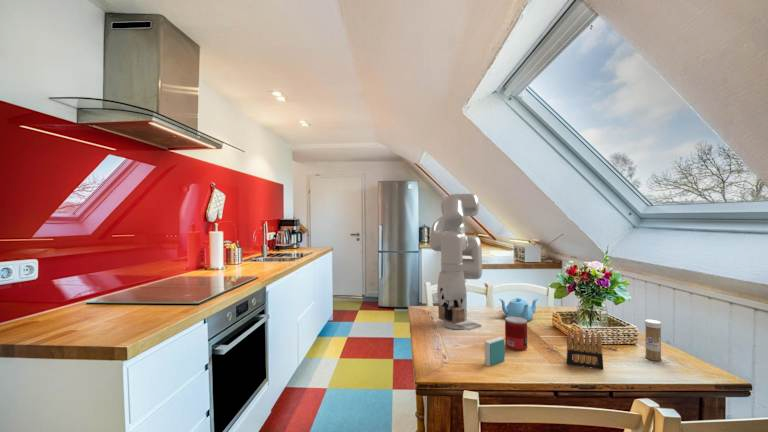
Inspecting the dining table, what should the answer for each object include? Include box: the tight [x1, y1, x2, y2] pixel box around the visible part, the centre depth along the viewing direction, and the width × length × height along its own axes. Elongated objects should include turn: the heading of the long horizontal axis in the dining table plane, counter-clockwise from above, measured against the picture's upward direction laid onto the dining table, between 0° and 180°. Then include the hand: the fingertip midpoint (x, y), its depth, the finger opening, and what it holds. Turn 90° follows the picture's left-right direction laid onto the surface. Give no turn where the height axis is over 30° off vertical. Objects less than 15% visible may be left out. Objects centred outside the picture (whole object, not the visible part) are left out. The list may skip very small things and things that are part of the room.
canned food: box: [504, 316, 528, 352], centre depth 130 cm, size 8×8×11 cm
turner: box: [437, 304, 482, 331], centre depth 117 cm, size 16×6×5 cm, turn 33°
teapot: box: [498, 297, 539, 322], centre depth 167 cm, size 15×15×10 cm
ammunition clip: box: [566, 329, 604, 370], centre depth 114 cm, size 11×2×12 cm, turn 69°
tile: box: [484, 336, 506, 367], centre depth 117 cm, size 2×8×8 cm, turn 123°
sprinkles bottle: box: [644, 319, 662, 362], centre depth 119 cm, size 5×5×14 cm
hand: (452, 318), depth 119 cm, fingers closed on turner, 3 cm apart
